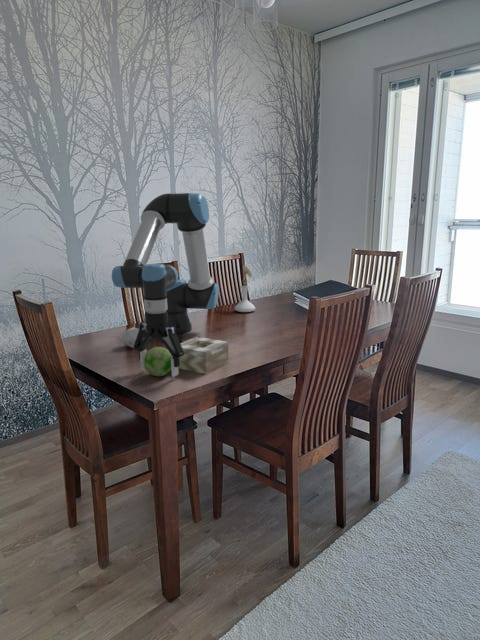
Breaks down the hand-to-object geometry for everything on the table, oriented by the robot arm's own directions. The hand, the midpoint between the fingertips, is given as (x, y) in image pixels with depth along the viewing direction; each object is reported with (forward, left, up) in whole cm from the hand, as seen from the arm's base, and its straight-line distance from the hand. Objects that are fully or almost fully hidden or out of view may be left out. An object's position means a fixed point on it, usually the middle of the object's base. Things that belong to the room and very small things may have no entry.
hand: (159, 372), depth 158 cm
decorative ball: (0, 0, -2) cm, 2 cm away
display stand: (+6, +16, -1) cm, 17 cm away
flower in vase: (-26, +100, -2) cm, 103 cm away
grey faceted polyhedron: (-32, +21, -2) cm, 38 cm away
